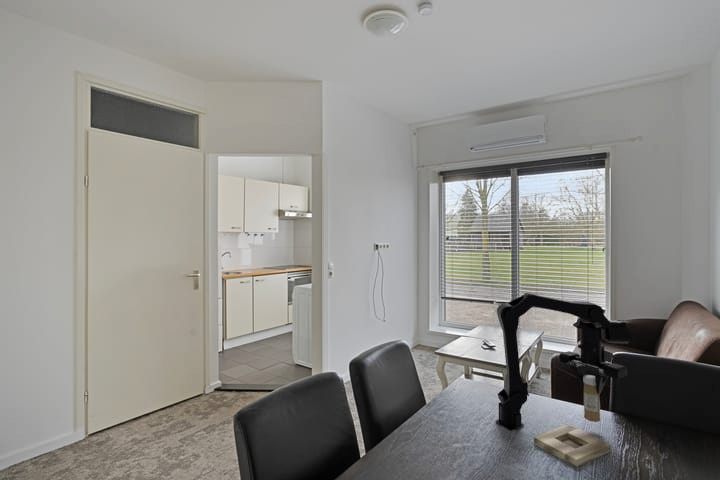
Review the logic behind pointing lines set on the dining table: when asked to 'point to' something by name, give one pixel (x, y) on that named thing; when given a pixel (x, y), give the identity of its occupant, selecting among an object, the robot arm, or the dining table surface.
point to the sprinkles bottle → (591, 399)
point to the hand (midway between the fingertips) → (591, 390)
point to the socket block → (572, 445)
